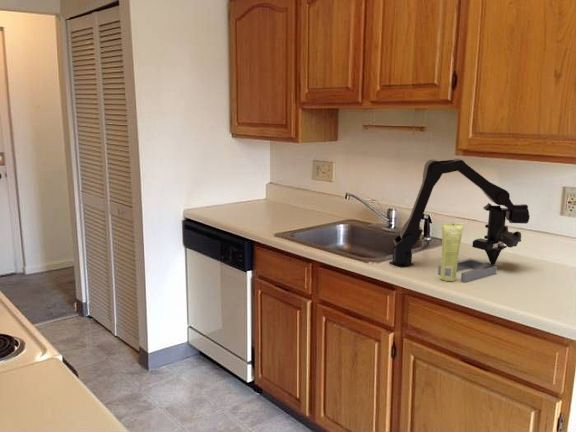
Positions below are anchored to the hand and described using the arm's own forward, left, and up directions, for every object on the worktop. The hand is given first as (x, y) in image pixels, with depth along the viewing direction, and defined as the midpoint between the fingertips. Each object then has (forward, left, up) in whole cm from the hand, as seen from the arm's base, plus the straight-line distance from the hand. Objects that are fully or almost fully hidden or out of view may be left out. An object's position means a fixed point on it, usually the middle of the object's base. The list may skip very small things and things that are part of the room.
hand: (492, 264), depth 193 cm
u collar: (0, -15, -1) cm, 15 cm away
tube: (0, -25, -1) cm, 25 cm away
